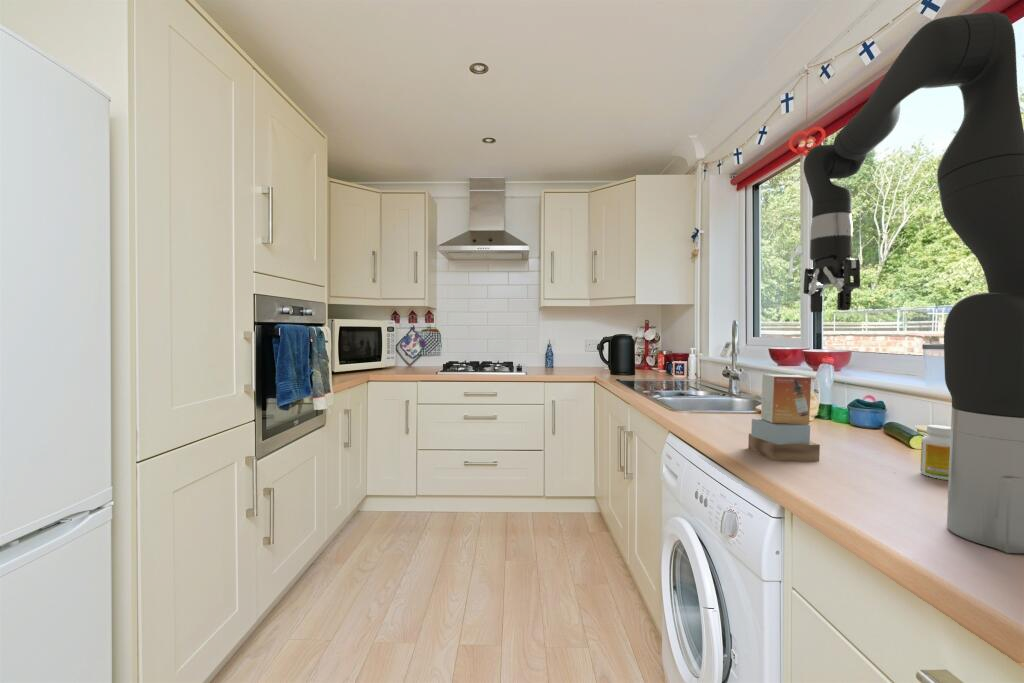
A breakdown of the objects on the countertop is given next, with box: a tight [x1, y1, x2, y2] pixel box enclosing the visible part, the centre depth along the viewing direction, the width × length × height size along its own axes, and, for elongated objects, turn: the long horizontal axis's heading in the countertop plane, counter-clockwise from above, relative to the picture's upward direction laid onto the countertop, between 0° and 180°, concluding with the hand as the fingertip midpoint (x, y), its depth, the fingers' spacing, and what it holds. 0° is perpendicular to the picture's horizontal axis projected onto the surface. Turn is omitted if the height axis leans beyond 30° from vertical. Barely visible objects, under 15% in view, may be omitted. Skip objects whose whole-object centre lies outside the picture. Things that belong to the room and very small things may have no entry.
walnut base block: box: [747, 433, 821, 462], centre depth 102 cm, size 10×10×4 cm
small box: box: [760, 373, 812, 425], centre depth 101 cm, size 8×6×10 cm
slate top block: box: [750, 417, 811, 445], centre depth 101 cm, size 8×8×4 cm
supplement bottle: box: [920, 424, 951, 481], centre depth 88 cm, size 5×5×10 cm
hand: (829, 311), depth 99 cm, fingers open, 8 cm apart
